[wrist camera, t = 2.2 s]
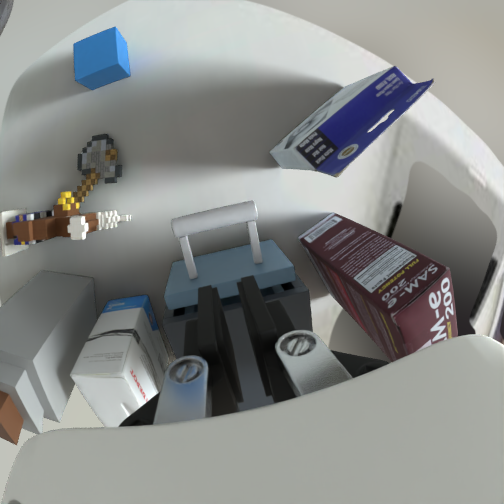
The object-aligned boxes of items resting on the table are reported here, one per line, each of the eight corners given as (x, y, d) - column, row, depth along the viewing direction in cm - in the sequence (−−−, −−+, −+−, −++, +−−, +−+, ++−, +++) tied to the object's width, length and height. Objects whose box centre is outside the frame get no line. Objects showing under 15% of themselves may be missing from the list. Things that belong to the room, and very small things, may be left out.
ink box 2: (345, 83, 23) (421, 53, 12) (360, 100, 24) (439, 81, 13) (263, 152, 24) (309, 147, 13) (280, 170, 25) (337, 181, 14)
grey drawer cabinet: (172, 276, 26) (161, 324, 18) (278, 251, 27) (309, 289, 19) (206, 369, 31) (210, 426, 23) (293, 349, 32) (317, 400, 24)
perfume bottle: (99, 332, 27) (45, 465, 10) (50, 322, 26) (-19, 434, 9) (93, 277, 25) (5, 407, 8) (41, 270, 24) (-58, 372, 7)
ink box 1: (106, 299, 26) (65, 374, 15) (149, 293, 26) (123, 373, 15) (131, 361, 29) (112, 441, 18) (170, 357, 29) (163, 441, 18)
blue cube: (91, 90, 19) (74, 81, 15) (89, 56, 18) (73, 43, 14) (130, 76, 20) (118, 63, 16) (126, 42, 18) (115, 26, 14)
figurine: (34, 151, 21) (131, 134, 22) (36, 244, 23) (132, 241, 24) (-10, 145, 14) (99, 114, 15) (-8, 260, 16) (99, 260, 17)
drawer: (158, 212, 23) (142, 232, 17) (263, 188, 24) (284, 199, 18) (204, 356, 29) (207, 401, 23) (287, 337, 30) (307, 377, 23)
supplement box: (364, 271, 30) (461, 350, 15) (330, 296, 30) (413, 393, 15) (333, 208, 27) (452, 264, 12) (294, 235, 27) (389, 321, 12)
